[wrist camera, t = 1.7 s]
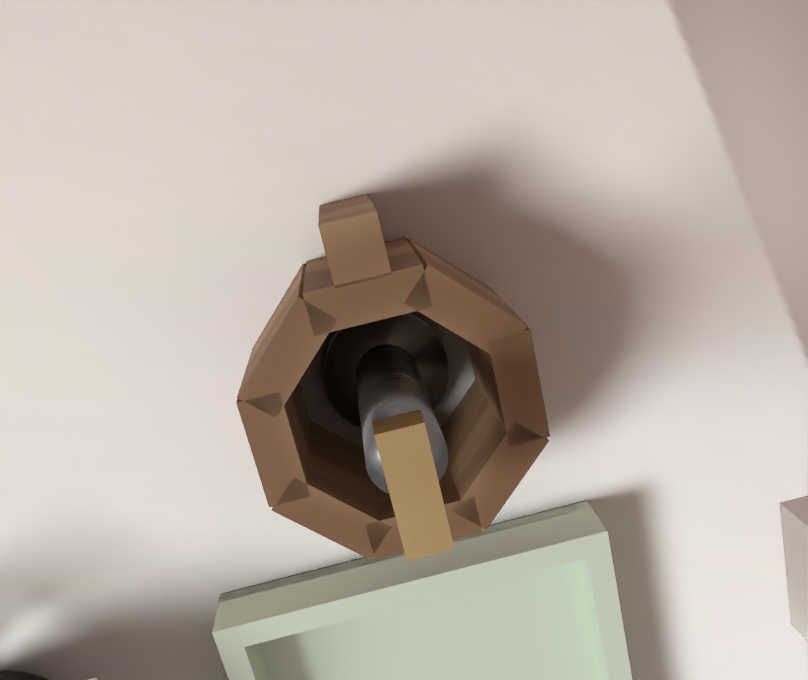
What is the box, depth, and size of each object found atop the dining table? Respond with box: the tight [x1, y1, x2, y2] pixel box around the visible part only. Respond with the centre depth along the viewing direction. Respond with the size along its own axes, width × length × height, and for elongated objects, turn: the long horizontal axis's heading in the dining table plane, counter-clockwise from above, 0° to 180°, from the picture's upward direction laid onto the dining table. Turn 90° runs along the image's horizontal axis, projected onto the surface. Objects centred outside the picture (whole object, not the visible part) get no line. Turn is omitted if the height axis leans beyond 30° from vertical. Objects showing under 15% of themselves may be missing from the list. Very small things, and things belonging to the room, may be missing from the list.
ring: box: [237, 194, 550, 560], centre depth 27 cm, size 12×10×6 cm
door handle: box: [324, 313, 454, 561], centre depth 26 cm, size 5×5×10 cm
